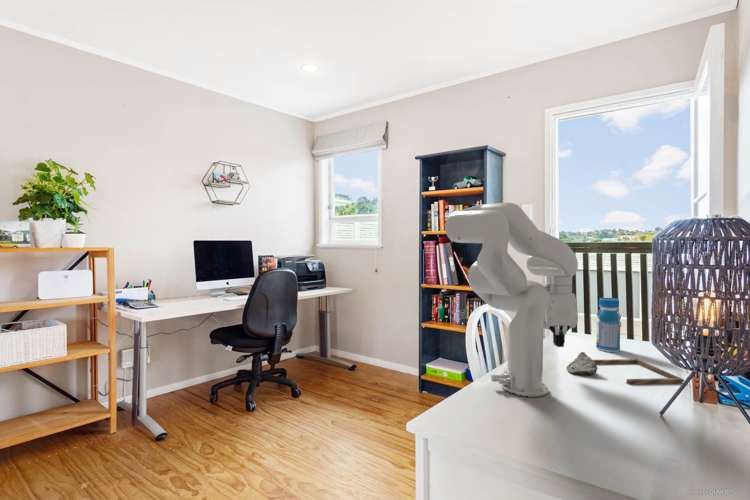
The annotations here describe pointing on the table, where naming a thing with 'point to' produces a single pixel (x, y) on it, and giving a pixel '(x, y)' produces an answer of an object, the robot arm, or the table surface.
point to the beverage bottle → (608, 325)
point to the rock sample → (582, 365)
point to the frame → (670, 377)
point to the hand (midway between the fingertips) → (558, 345)
